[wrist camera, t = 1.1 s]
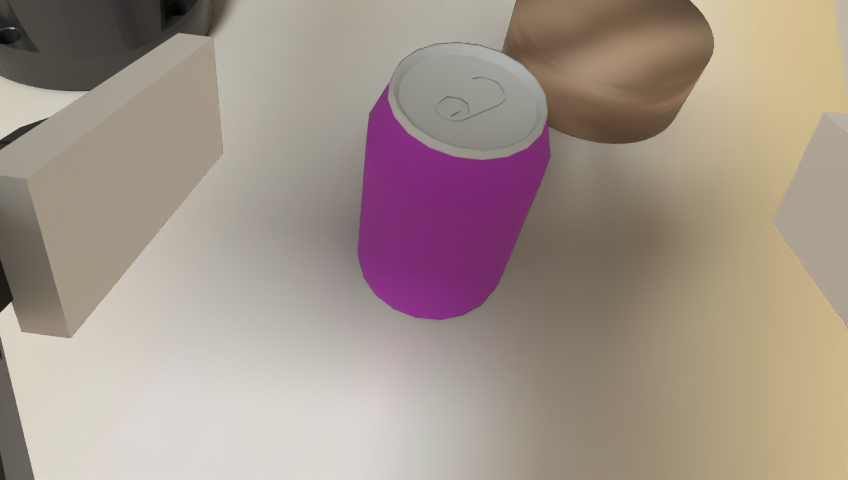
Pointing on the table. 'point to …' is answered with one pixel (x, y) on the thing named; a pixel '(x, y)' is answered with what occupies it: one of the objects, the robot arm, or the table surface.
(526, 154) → the beverage can
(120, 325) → the table surface
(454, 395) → the table surface
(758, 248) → the table surface
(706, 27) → the walnut pedestal
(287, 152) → the table surface
